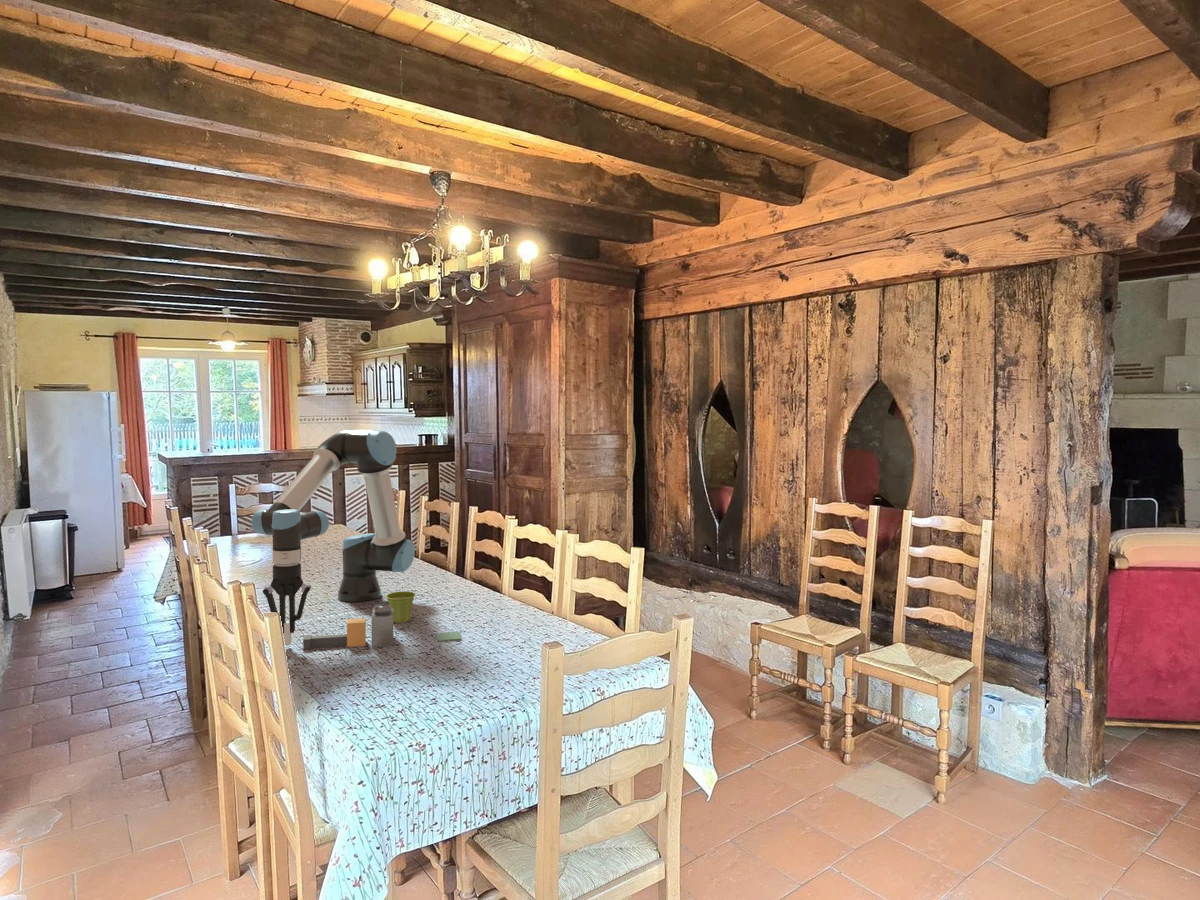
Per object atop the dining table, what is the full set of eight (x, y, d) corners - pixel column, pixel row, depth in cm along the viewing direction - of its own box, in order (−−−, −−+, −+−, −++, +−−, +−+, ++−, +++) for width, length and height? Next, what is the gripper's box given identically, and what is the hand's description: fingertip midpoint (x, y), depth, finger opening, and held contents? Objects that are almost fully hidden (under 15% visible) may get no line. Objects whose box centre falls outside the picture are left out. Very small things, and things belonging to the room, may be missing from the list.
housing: (373, 638, 216) (372, 602, 216) (393, 636, 218) (393, 601, 217) (371, 647, 208) (371, 610, 207) (392, 646, 209) (392, 609, 209)
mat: (436, 634, 220) (436, 633, 220) (459, 633, 222) (459, 631, 222) (437, 641, 214) (437, 640, 214) (461, 640, 215) (461, 638, 215)
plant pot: (385, 625, 229) (385, 599, 228) (386, 617, 238) (386, 592, 237) (415, 623, 231) (415, 597, 231) (415, 615, 240) (415, 590, 240)
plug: (305, 645, 209) (305, 621, 209) (365, 640, 214) (365, 618, 213) (303, 650, 205) (302, 626, 204) (364, 645, 209) (364, 622, 209)
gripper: (259, 567, 199) (260, 649, 200) (309, 565, 203) (310, 646, 204) (264, 561, 206) (265, 641, 208) (312, 560, 210) (313, 638, 211)
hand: (287, 643), depth 206 cm, fingers closed
